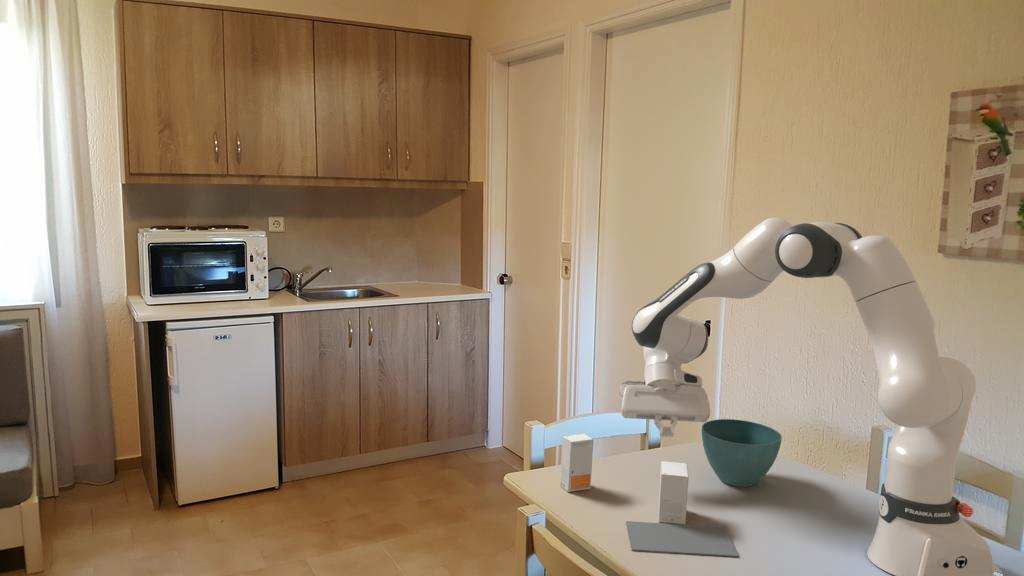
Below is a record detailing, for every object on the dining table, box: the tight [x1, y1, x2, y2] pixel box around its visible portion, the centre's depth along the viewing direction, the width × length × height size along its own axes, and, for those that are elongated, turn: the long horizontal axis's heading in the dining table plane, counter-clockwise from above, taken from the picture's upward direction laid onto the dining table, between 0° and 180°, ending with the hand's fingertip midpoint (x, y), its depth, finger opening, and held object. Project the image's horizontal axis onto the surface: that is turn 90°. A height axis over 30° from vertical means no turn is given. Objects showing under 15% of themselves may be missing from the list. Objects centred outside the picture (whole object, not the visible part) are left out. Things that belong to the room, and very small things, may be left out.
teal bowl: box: [701, 418, 783, 488], centre depth 175 cm, size 18×18×12 cm
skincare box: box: [559, 433, 594, 493], centre depth 167 cm, size 6×4×12 cm
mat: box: [625, 520, 739, 558], centre depth 145 cm, size 20×12×1 cm, turn 87°
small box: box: [658, 460, 690, 525], centre depth 155 cm, size 8×6×10 cm
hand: (666, 435), depth 167 cm, fingers closed
